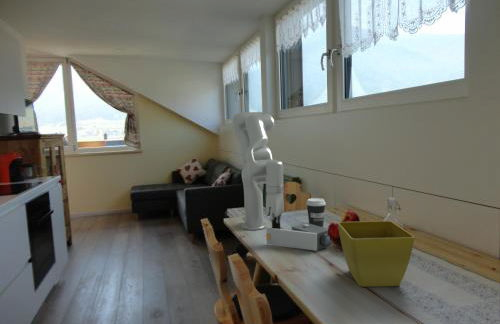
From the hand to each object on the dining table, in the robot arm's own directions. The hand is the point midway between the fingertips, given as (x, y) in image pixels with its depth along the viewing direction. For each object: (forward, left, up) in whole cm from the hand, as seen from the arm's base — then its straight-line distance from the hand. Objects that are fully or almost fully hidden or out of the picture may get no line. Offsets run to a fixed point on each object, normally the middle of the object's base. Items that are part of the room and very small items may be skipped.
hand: (276, 230), depth 147 cm
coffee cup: (-2, +28, -6) cm, 28 cm away
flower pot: (+46, +1, -6) cm, 47 cm away
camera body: (+10, +11, -6) cm, 16 cm away
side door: (+8, +1, -5) cm, 10 cm away
